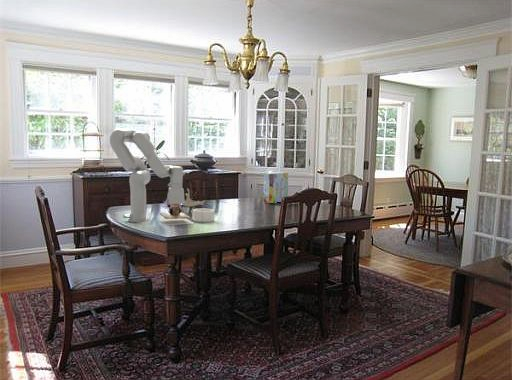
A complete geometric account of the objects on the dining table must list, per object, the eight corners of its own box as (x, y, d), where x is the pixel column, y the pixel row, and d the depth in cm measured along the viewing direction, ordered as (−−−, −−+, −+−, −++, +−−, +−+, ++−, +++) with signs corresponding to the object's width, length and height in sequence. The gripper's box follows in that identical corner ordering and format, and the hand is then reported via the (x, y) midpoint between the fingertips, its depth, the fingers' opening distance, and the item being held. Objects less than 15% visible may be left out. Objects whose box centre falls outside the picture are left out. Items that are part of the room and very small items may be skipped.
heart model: (188, 213, 309) (168, 211, 296) (181, 215, 315) (160, 213, 302) (188, 192, 312) (168, 189, 299) (180, 194, 318) (160, 191, 305)
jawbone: (176, 205, 337) (178, 188, 336) (186, 205, 345) (187, 188, 344) (199, 210, 322) (201, 192, 321) (208, 210, 330) (210, 192, 329)
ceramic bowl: (196, 223, 272) (197, 212, 271) (190, 219, 283) (190, 208, 282) (216, 221, 277) (216, 211, 277) (209, 218, 289) (209, 208, 288)
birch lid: (166, 219, 262) (166, 208, 261) (160, 214, 275) (160, 204, 274) (189, 218, 269) (190, 208, 268) (182, 213, 282) (183, 204, 281)
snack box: (281, 200, 378) (282, 171, 375) (287, 202, 372) (289, 172, 368) (262, 202, 364) (263, 172, 361) (269, 204, 358) (270, 173, 355)
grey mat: (166, 226, 260) (166, 225, 260) (158, 220, 276) (158, 219, 276) (194, 224, 268) (194, 223, 268) (185, 218, 284) (185, 218, 284)
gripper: (164, 186, 262) (163, 216, 265) (190, 186, 270) (189, 215, 272) (161, 184, 269) (160, 213, 271) (187, 185, 277) (185, 213, 279)
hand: (174, 214), depth 272 cm, fingers closed on birch lid, 4 cm apart
